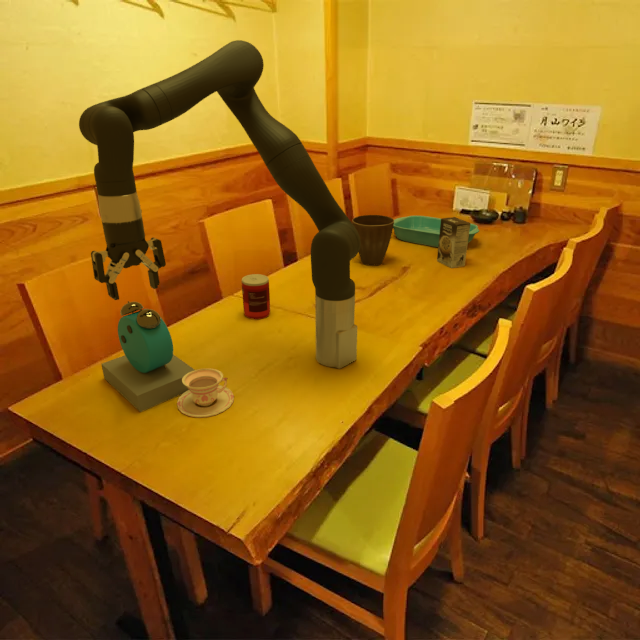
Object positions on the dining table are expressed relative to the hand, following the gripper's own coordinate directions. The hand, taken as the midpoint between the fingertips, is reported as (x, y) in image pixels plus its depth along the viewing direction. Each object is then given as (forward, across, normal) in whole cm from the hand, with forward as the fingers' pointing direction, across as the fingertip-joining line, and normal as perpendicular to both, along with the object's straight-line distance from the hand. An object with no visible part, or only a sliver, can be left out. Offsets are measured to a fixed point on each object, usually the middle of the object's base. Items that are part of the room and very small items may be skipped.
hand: (135, 293), depth 108 cm
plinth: (+22, 0, 0) cm, 22 cm away
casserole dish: (+23, -138, -20) cm, 141 cm away
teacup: (+23, -5, +14) cm, 27 cm away
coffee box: (+22, -118, +1) cm, 120 cm away
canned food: (+22, -40, -13) cm, 48 cm away
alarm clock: (+18, 0, 0) cm, 18 cm away
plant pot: (+22, -98, -20) cm, 103 cm away
